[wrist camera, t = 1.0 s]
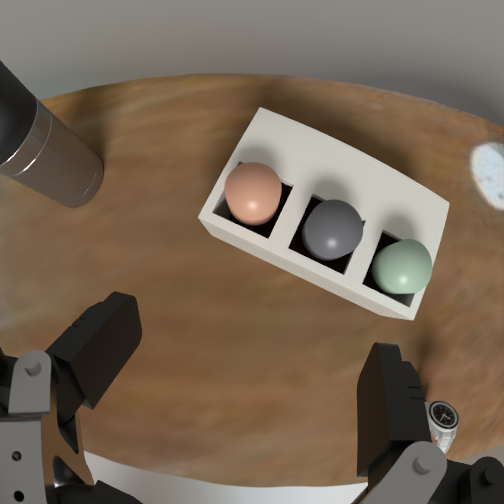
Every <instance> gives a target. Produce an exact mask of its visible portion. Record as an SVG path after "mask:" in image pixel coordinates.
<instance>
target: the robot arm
mask: <svg viewBox="0 0 504 504" xmlns="http://www.w3.org/2000/svg"><path fill="white" fill-rule="evenodd" d="M0 173H2V174H4V175H6V176H8V177H10V178H11V179H13V180H15V181H17V182H19V183H21V184H23V185H25V186H27V187H29V188H31V189H33V190H35V191H36V192H38V193H40V194H42V195H44V196H46V197H48V198H50V199H52V200H54V201H56V202H58V203H60V204H62V205H64V206H66V207H70V208H74V207H79V206H81V205H83V204H85V203H86V202H88V201H89V200H90V199H91V198H92V197H93V196H94V195H95V193H96V192H97V190H98V188H99V186H100V184H101V181H102V178H103V164H102V161H101V159H100V158H99V156H98V155H97V154H96V153H95V152H94V151H92V150H91V149H90V148H89V147H88V146H87V145H86V144H85V143H84V142H83V141H82V140H81V139H80V138H79V137H77V136H76V135H75V134H74V133H73V132H72V131H71V130H70V129H69V128H68V127H67V126H66V125H65V124H64V123H62V122H61V121H60V120H59V119H58V118H57V117H56V116H55V115H54V114H53V113H52V112H51V111H50V110H49V109H48V108H46V107H45V106H44V105H43V104H42V103H41V102H40V101H39V100H38V99H37V98H36V97H35V96H34V95H33V94H32V93H31V92H29V91H28V89H27V88H26V87H25V86H24V85H23V84H22V83H21V82H20V81H19V80H18V79H17V78H16V77H15V76H14V75H13V74H12V72H11V71H10V70H9V69H8V68H7V67H6V66H5V65H4V64H3V63H2V62H1V61H0ZM141 337H142V327H141V322H140V317H139V311H138V305H137V300H136V298H135V297H134V296H131V295H128V294H124V293H120V292H116V291H115V292H113V293H111V294H110V295H109V296H108V297H107V298H106V299H105V300H104V301H103V302H99V303H97V304H95V305H93V306H91V307H89V308H88V309H87V310H86V311H85V312H84V313H83V314H82V315H81V316H79V319H78V318H77V319H76V320H75V321H74V322H73V323H72V326H69V327H68V328H67V329H66V330H65V331H64V332H63V333H62V334H61V336H60V337H59V338H58V339H57V340H56V341H55V342H54V343H53V344H52V345H51V346H50V347H49V348H48V349H47V350H46V351H45V352H43V351H38V350H34V351H30V352H27V353H25V354H23V355H22V356H21V357H20V358H16V357H11V356H6V355H4V353H3V351H2V349H1V347H0V504H142V503H141V502H140V501H139V500H137V499H136V498H134V497H133V496H131V495H129V494H126V493H124V492H122V491H120V490H118V489H116V488H114V487H112V486H110V485H108V484H106V483H104V482H102V481H100V480H98V481H97V483H96V484H95V485H94V481H93V478H92V475H91V472H90V470H89V468H88V466H87V464H86V461H85V457H84V451H83V444H82V436H81V427H80V417H79V412H78V408H79V407H80V406H81V404H82V405H84V406H86V407H88V408H90V409H92V410H93V409H94V407H95V406H96V404H97V403H98V402H99V400H100V399H101V397H102V396H103V394H104V393H105V392H106V390H107V389H108V387H109V386H110V385H111V383H112V382H113V380H114V379H115V377H116V376H117V375H118V373H119V372H120V370H121V369H122V368H123V366H124V365H125V364H126V362H127V361H128V359H129V358H130V357H131V355H132V354H133V352H134V351H135V350H136V348H137V347H138V345H139V344H140V341H141ZM357 418H358V452H357V477H368V486H367V487H366V488H365V489H364V490H363V491H362V492H361V494H360V495H359V496H358V497H357V498H356V499H355V500H354V501H353V502H352V503H351V504H504V467H503V465H502V464H501V463H500V461H498V460H497V459H495V458H493V457H483V458H481V459H479V460H477V461H476V462H475V463H474V464H473V465H468V464H464V463H459V462H455V461H451V460H448V459H446V456H445V454H444V452H443V451H442V450H441V449H440V448H439V447H438V446H437V445H435V444H433V443H432V440H431V434H430V428H429V423H428V417H427V412H426V407H425V402H424V400H423V393H422V389H421V384H420V380H419V376H418V373H417V372H416V370H415V369H414V367H413V366H412V364H411V363H410V362H407V361H402V358H401V354H400V349H399V346H398V345H396V344H387V343H378V342H375V343H374V344H373V346H372V348H371V351H370V353H369V355H368V358H367V360H366V362H365V365H364V367H363V369H362V371H361V374H360V376H359V380H358V385H357Z"/></svg>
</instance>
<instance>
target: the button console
mask: <svg viewBox="0 0 504 504" xmlns="http://www.w3.org/2000/svg"><path fill="white" fill-rule="evenodd" d="M248 162H259V163H262V164H265V165H267V166H269V167H270V168H272V169H273V170H274V171H275V172H276V173H277V175H278V177H279V179H280V181H281V182H282V183H284V184H286V185H289V186H291V187H293V189H292V191H291V193H290V195H289V197H288V199H287V201H286V203H285V205H284V207H283V210H282V212H281V214H280V216H279V218H278V220H277V222H276V224H275V226H274V228H273V231H272V233H271V235H270V237H269V239H267V238H265V237H263V236H261V235H259V234H257V233H254V232H252V231H250V230H248V229H246V228H244V227H242V226H239V225H237V224H235V223H233V222H231V221H229V220H228V219H229V217H230V215H231V211H230V209H229V206H228V203H227V200H226V197H225V192H224V186H225V181H226V179H227V177H228V175H229V173H230V172H231V171H232V170H233V169H234V168H236V167H237V166H239V165H241V164H244V163H248ZM311 196H312V197H314V198H316V199H318V200H321V201H323V202H324V201H326V200H332V199H336V200H342V201H344V202H347V203H348V204H350V205H351V206H353V207H354V208H355V209H356V211H357V212H358V213H359V215H360V217H361V220H362V221H363V222H364V223H363V236H362V239H361V241H360V243H359V245H358V246H357V247H356V249H354V250H353V251H352V253H351V255H350V258H349V260H348V263H347V265H346V267H345V270H344V272H343V275H342V274H340V273H338V272H336V271H334V270H332V269H330V268H328V267H326V266H324V265H322V264H320V263H318V262H316V261H313V260H311V259H309V258H307V257H305V256H303V255H301V254H299V253H297V252H295V251H293V250H290V249H288V247H289V244H290V242H291V240H292V238H293V236H294V234H295V231H296V229H297V227H298V225H299V223H300V221H301V218H302V216H303V214H304V212H305V210H306V207H307V205H308V203H309V201H310V198H311ZM449 204H450V203H449V202H447V201H446V200H444V199H443V198H441V197H439V196H438V195H436V194H435V193H433V192H432V191H430V190H428V189H427V188H425V187H424V186H422V185H420V184H419V183H417V182H415V181H414V180H412V179H410V178H409V177H407V176H405V175H404V174H402V173H400V172H398V171H397V170H395V169H393V168H391V167H389V166H388V165H386V164H384V163H382V162H380V161H378V160H377V159H375V158H373V157H371V156H369V155H367V154H365V153H363V152H361V151H359V150H357V149H355V148H353V147H351V146H349V145H347V144H345V143H343V142H341V141H339V140H337V139H335V138H333V137H330V136H328V135H326V134H324V133H322V132H319V131H317V130H315V129H313V128H310V127H308V126H306V125H304V124H301V123H299V122H296V121H294V120H292V119H289V118H287V117H284V116H282V115H279V114H277V113H274V112H271V111H269V110H266V109H264V108H261V107H260V108H259V110H258V111H257V113H256V115H255V116H254V118H253V120H252V121H251V123H250V125H249V126H248V128H247V130H246V131H245V133H244V135H243V137H242V138H241V140H240V142H239V143H238V145H237V147H236V149H235V150H234V152H233V154H232V156H231V157H230V159H229V161H228V163H227V165H226V166H225V168H224V170H223V172H222V174H221V175H220V177H219V179H218V181H217V183H216V185H215V186H214V188H213V190H212V192H211V194H210V196H209V198H208V199H207V201H206V203H205V205H204V207H203V209H202V211H201V213H200V215H199V216H198V218H199V220H200V221H201V222H202V224H203V225H204V226H205V227H206V229H207V230H208V231H209V232H210V234H211V235H212V236H214V237H216V238H219V239H221V240H223V241H225V242H227V243H229V244H231V245H233V246H235V247H237V248H240V249H242V250H244V251H246V252H248V253H250V254H252V255H254V256H256V257H258V258H261V259H263V260H265V261H267V262H269V263H271V264H273V265H275V266H277V267H279V268H282V269H284V270H286V271H288V272H290V273H292V274H294V275H296V276H298V277H301V278H303V279H305V280H307V281H309V282H311V283H313V284H315V285H317V286H320V287H322V288H324V289H326V290H328V291H330V292H332V293H334V294H336V295H338V296H341V297H343V298H345V299H347V300H349V301H351V302H353V303H355V304H357V305H360V306H362V307H364V308H366V309H368V310H370V311H372V312H374V313H377V314H379V315H381V316H387V317H394V318H400V319H407V320H414V318H415V315H416V312H417V310H418V307H419V305H420V302H421V299H422V297H423V294H424V291H425V288H426V286H425V287H424V288H423V289H422V290H421V291H419V292H416V293H406V294H390V293H386V292H384V291H383V294H381V293H379V292H377V291H375V290H373V289H371V288H369V287H367V286H365V285H363V284H362V282H363V280H364V278H365V275H366V273H367V270H368V268H369V265H370V263H371V260H372V257H373V255H374V252H375V250H376V247H377V244H378V242H379V239H380V236H381V233H382V232H383V233H385V234H387V235H389V236H391V237H393V238H394V239H396V240H398V241H401V240H404V239H414V240H417V241H419V242H420V243H422V244H423V245H424V246H425V247H426V249H427V250H428V252H429V254H430V256H431V259H432V267H433V264H434V261H435V257H436V254H437V251H438V247H439V244H440V240H441V237H442V233H443V229H444V225H445V221H446V217H447V213H448V209H449Z"/></svg>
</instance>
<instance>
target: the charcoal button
mask: <svg viewBox="0 0 504 504" xmlns="http://www.w3.org/2000/svg"><path fill="white" fill-rule="evenodd" d="M362 236H363V223H362V220H361V217H360V215H359V213H358V212H357V211H356V209H355V208H354V207H353V206H351V205H350V204H348V203H347V202H344V201H342V200H336V199H332V200H326V201H324V202H322V203H320V204H319V205H317V206H316V207H315V208H314V210H313V211H312V213H311V214H310V216H309V217H308V219H307V220H306V222H305V224H304V226H303V229H302V241H303V244H304V246H305V248H306V250H307V251H308V252H309V253H310V254H311V255H312V256H313V257H315V258H317V259H319V260H323V261H331V260H335V259H337V258H339V257H342V256H344V255H346V254H348V253H350V252H352V251H353V250H354V249H356V247H357V246H358V245H359V243H360V241H361V239H362Z"/></svg>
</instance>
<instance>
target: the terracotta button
mask: <svg viewBox="0 0 504 504" xmlns="http://www.w3.org/2000/svg"><path fill="white" fill-rule="evenodd" d="M281 190H282V187H281V181H280V179H279V177H278V175H277V173H276V172H275V171H274V170H273V169H272V168H270V167H269V166H267V165H265V164H262V163H259V162H248V163H244V164H241V165H239V166H237V167H236V168H234V169H233V170H232V171H231V172H230V173H229V175H228V177H227V179H226V181H225V186H224V192H225V197H226V200H227V203H228V206H229V209H230V211H231V213H232V215H233V216H234V217H235V218H236V219H237V220H238V221H239V222H241V223H243V224H245V225H250V226H257V225H261V224H264V223H266V222H268V221H269V220H270V219H271V218H272V217H273V216H274V215H275V213H276V211H277V209H278V205H279V201H280V196H281Z"/></svg>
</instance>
